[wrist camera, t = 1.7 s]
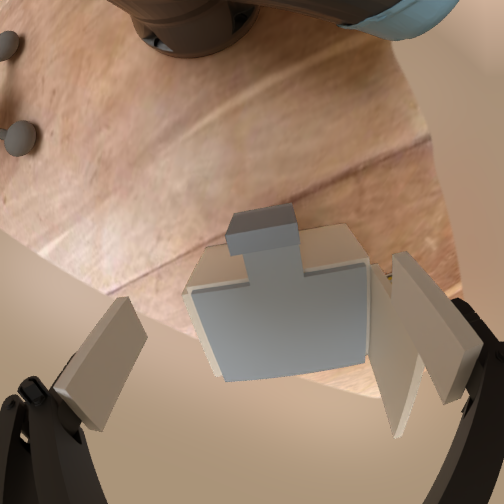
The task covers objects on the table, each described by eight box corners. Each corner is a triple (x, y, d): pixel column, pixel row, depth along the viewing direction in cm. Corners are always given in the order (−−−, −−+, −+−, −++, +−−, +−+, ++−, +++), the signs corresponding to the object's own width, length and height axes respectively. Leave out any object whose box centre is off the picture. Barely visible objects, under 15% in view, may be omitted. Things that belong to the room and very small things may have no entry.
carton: (200, 248, 38) (135, 376, 18) (351, 221, 35) (431, 337, 15) (226, 331, 43) (201, 462, 23) (356, 311, 40) (399, 440, 20)
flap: (171, 226, 26) (150, 249, 21) (358, 191, 23) (379, 209, 19) (226, 377, 33) (220, 410, 29) (363, 358, 31) (373, 391, 26)
